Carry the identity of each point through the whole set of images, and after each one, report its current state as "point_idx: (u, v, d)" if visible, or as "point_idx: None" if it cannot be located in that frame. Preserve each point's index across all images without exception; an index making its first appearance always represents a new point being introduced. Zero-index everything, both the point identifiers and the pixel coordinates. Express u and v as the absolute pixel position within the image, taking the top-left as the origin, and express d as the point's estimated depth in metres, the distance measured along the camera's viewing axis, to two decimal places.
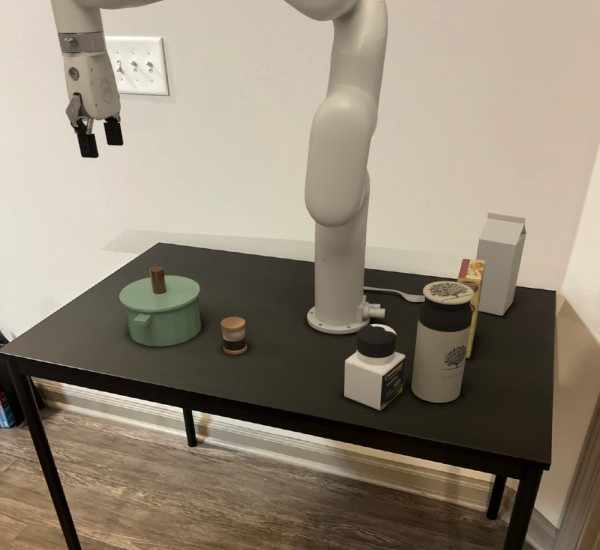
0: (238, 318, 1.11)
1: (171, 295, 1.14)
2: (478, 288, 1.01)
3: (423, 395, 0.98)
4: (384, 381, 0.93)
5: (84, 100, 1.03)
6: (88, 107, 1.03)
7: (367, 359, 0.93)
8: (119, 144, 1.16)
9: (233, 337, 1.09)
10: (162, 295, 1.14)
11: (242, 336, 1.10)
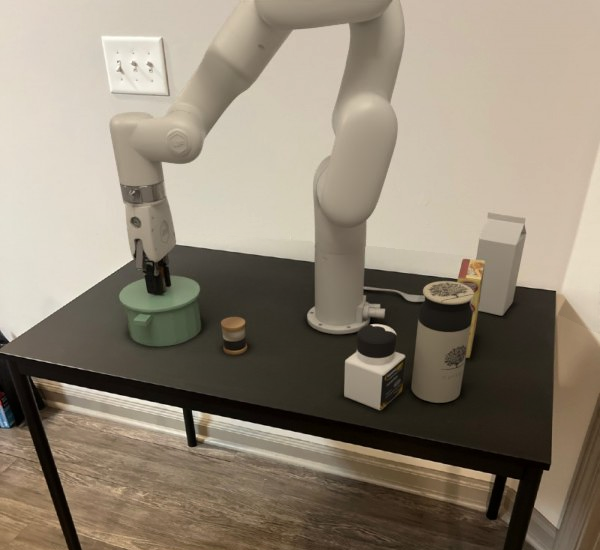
0: (238, 318, 1.11)
1: (171, 295, 1.14)
2: (478, 288, 1.01)
3: (423, 395, 0.98)
4: (384, 381, 0.93)
5: (145, 246, 1.05)
6: (148, 252, 1.06)
7: (367, 359, 0.93)
8: (167, 286, 1.16)
9: (233, 337, 1.09)
10: (162, 295, 1.14)
11: (242, 336, 1.10)
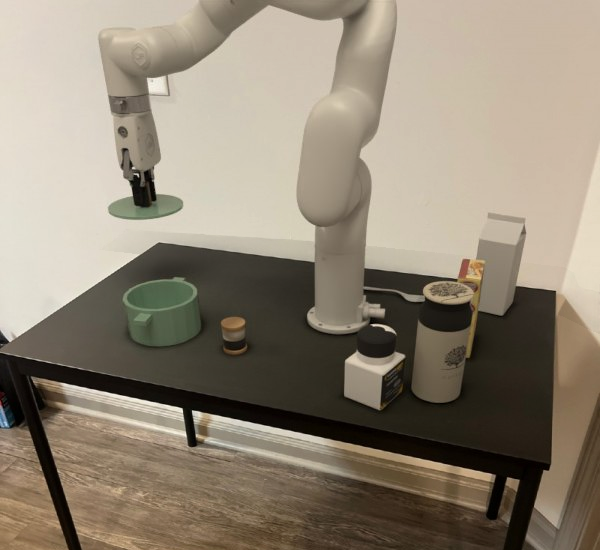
0: (238, 318, 1.11)
1: (156, 207, 1.23)
2: (478, 288, 1.01)
3: (423, 395, 0.98)
4: (384, 381, 0.93)
5: (131, 155, 1.14)
6: (134, 161, 1.14)
7: (367, 359, 0.93)
8: (153, 200, 1.25)
9: (233, 337, 1.09)
10: (147, 207, 1.23)
11: (242, 336, 1.10)
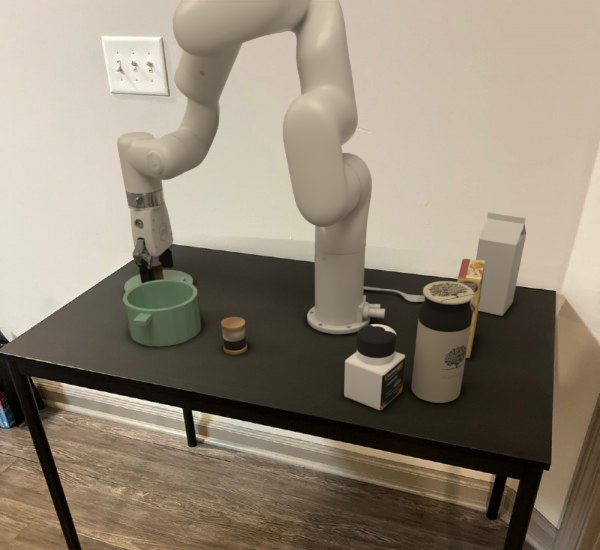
0: (238, 318, 1.11)
1: None
2: (478, 288, 1.01)
3: (423, 395, 0.98)
4: (384, 381, 0.93)
5: (146, 243, 1.25)
6: (149, 248, 1.25)
7: (367, 359, 0.93)
8: (170, 267, 1.38)
9: (233, 337, 1.09)
10: None
11: (242, 336, 1.10)
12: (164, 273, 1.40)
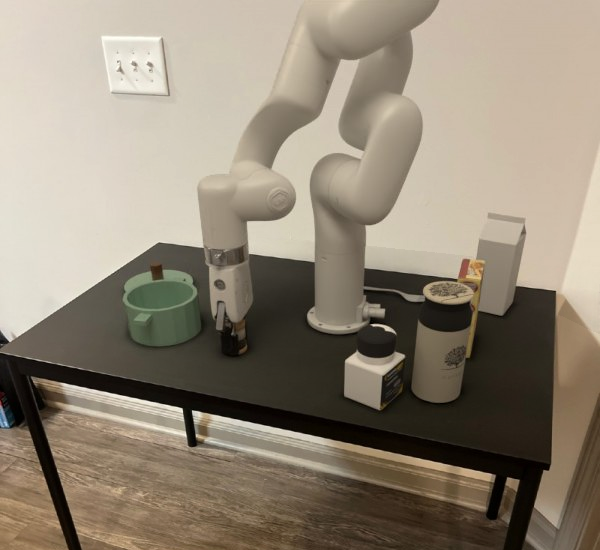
0: None
1: None
2: (478, 288, 1.01)
3: (423, 395, 0.98)
4: (384, 381, 0.93)
5: (227, 308, 1.03)
6: (231, 313, 1.03)
7: (367, 359, 0.93)
8: None
9: None
10: None
11: (242, 336, 1.10)
12: (164, 273, 1.40)
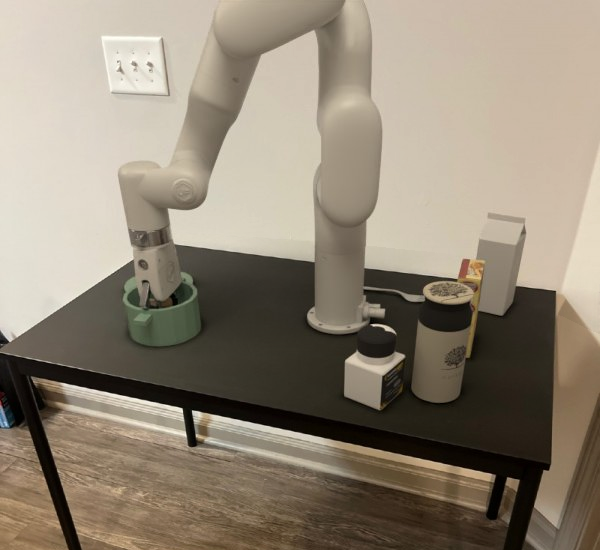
0: None
1: None
2: (478, 288, 1.01)
3: (423, 395, 0.98)
4: (384, 381, 0.93)
5: (152, 286, 1.09)
6: (155, 292, 1.10)
7: (367, 359, 0.93)
8: None
9: None
10: None
11: None
12: None
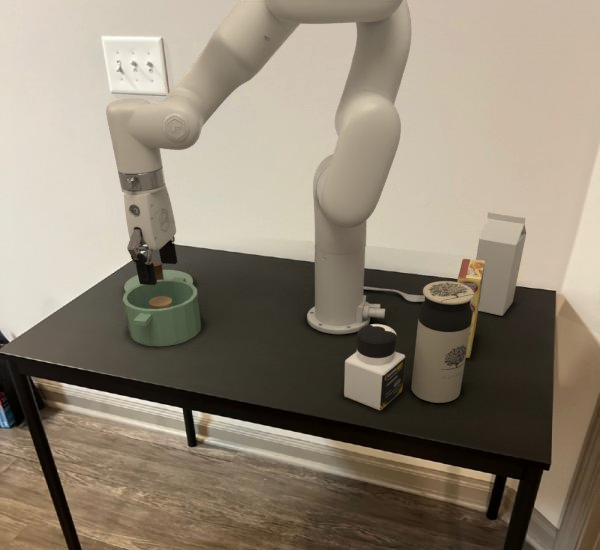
0: (166, 297, 1.18)
1: None
2: (478, 288, 1.01)
3: (423, 395, 0.98)
4: (384, 381, 0.93)
5: (144, 234, 1.04)
6: (148, 240, 1.04)
7: (367, 359, 0.93)
8: (173, 263, 1.17)
9: None
10: None
11: None
12: (164, 273, 1.40)
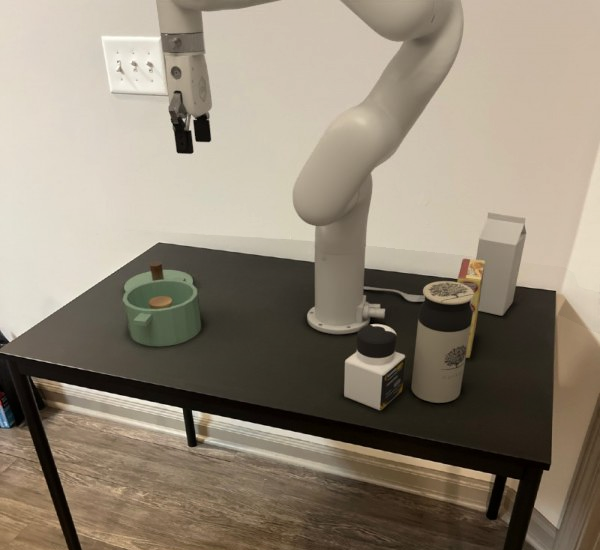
0: (166, 297, 1.18)
1: None
2: (478, 288, 1.01)
3: (423, 395, 0.98)
4: (384, 381, 0.93)
5: (184, 98, 1.07)
6: (187, 105, 1.08)
7: (367, 359, 0.93)
8: (207, 141, 1.20)
9: None
10: None
11: None
12: (164, 273, 1.40)
